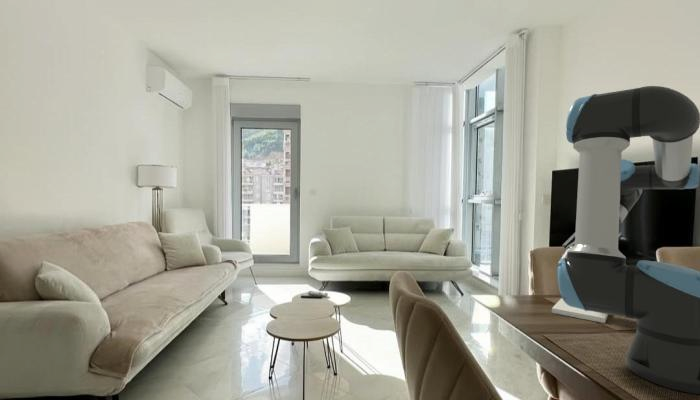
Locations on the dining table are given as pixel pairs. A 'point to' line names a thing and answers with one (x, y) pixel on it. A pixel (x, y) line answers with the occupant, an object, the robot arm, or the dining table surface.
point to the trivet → (578, 312)
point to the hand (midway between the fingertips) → (573, 268)
